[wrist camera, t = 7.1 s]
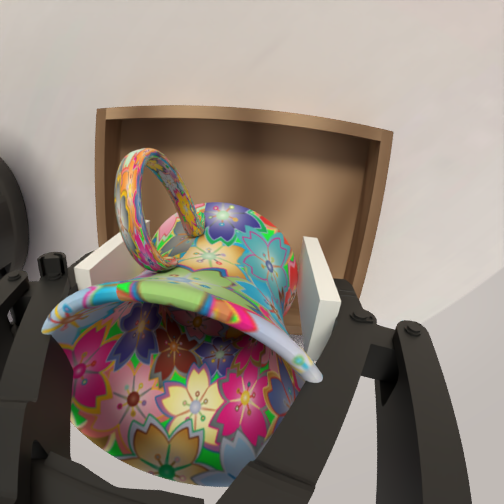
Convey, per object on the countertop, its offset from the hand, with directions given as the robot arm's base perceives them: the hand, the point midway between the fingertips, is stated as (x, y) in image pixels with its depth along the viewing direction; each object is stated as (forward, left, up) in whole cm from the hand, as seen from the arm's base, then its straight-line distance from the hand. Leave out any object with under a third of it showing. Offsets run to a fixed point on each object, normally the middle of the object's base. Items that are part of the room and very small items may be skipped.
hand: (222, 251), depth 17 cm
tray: (0, 0, -7) cm, 7 cm away
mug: (0, 0, -1) cm, 1 cm away
